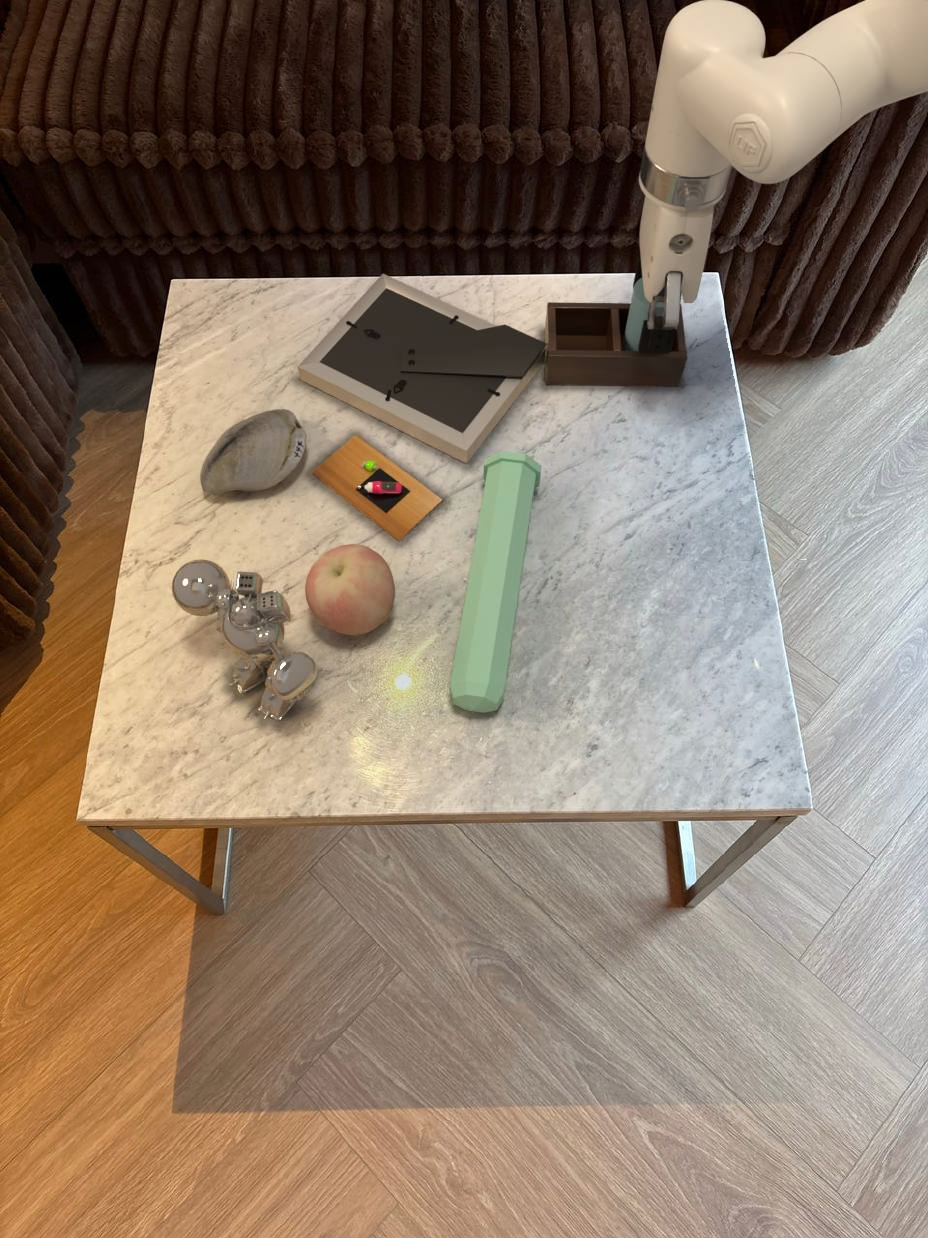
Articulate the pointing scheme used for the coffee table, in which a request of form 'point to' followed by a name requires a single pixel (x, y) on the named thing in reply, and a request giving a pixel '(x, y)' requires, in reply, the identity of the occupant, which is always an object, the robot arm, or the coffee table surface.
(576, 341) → the holder
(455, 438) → the picture frame
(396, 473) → the board
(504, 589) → the container
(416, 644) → the coffee table surface
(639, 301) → the bottle
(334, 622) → the apple
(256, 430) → the seashell
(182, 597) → the robot toy
